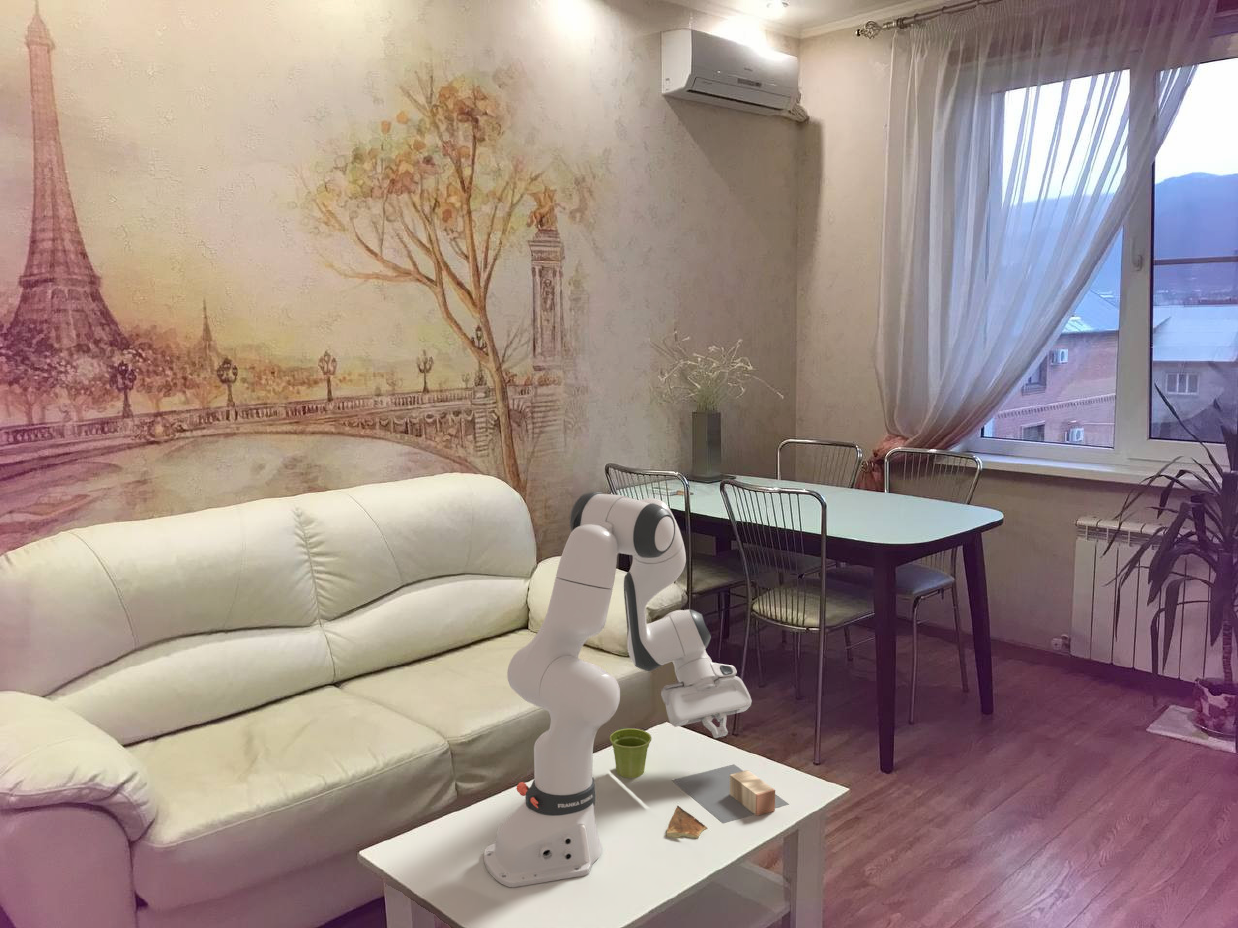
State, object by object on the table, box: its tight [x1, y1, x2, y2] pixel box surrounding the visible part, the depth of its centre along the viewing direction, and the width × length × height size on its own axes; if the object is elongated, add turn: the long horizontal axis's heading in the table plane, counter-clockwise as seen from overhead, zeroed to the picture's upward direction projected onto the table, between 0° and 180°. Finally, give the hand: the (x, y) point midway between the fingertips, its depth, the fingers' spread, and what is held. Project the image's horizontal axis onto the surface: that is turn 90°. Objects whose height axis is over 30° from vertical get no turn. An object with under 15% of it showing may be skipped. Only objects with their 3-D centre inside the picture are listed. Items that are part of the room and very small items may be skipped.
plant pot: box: [609, 728, 652, 779], centre depth 212 cm, size 9×9×9 cm
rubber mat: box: [671, 764, 790, 824], centre depth 203 cm, size 16×20×1 cm
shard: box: [666, 805, 708, 840], centre depth 190 cm, size 11×8×2 cm
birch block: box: [730, 770, 776, 816], centre depth 198 cm, size 4×4×10 cm
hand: (721, 735), depth 207 cm, fingers closed
